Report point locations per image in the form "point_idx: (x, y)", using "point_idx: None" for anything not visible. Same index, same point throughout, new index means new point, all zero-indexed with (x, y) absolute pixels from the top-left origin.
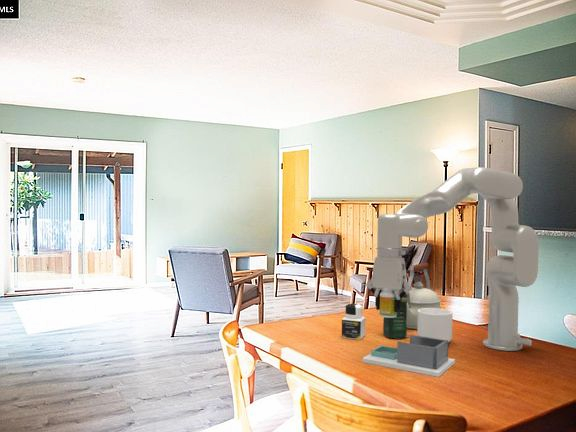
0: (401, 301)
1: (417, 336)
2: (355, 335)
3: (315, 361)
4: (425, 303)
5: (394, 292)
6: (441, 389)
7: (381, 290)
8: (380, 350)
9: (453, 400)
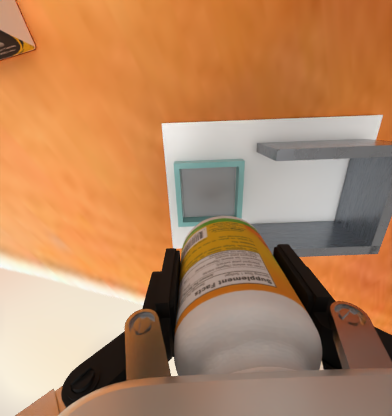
0: (330, 297)
1: (305, 158)
2: (8, 50)
3: (101, 288)
4: None
5: (309, 369)
6: (350, 286)
7: (166, 372)
8: (180, 177)
9: (369, 312)
